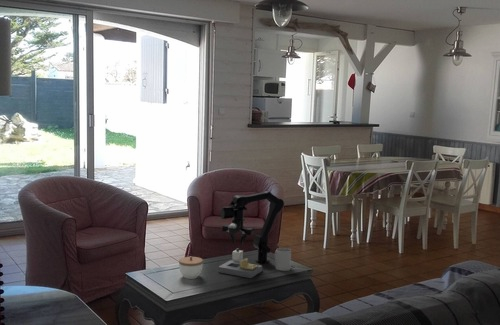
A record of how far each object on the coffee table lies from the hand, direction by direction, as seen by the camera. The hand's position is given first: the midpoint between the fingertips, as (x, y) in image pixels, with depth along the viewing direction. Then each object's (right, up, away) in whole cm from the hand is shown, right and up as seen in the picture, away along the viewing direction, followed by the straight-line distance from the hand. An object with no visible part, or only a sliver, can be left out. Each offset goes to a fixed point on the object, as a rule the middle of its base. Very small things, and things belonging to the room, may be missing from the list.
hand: (237, 244), depth 297 cm
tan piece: (+6, -10, -13) cm, 18 cm away
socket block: (+2, -13, -11) cm, 17 cm away
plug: (0, -12, +1) cm, 12 cm away
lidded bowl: (-25, -14, -21) cm, 35 cm away
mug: (+25, -13, -2) cm, 28 cm away
